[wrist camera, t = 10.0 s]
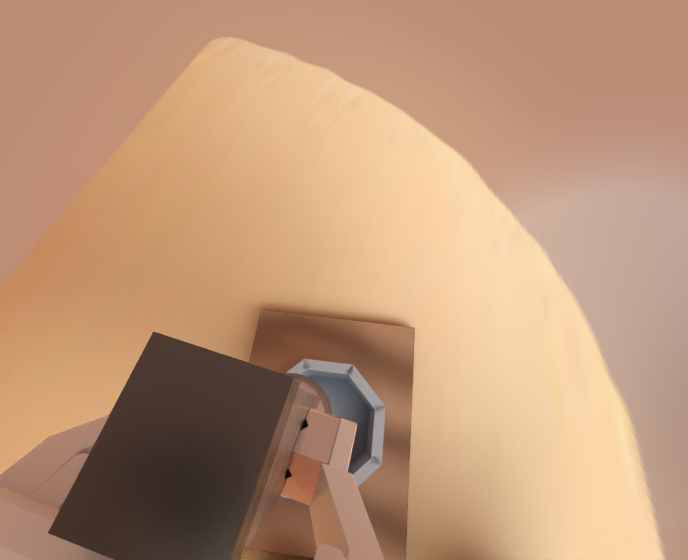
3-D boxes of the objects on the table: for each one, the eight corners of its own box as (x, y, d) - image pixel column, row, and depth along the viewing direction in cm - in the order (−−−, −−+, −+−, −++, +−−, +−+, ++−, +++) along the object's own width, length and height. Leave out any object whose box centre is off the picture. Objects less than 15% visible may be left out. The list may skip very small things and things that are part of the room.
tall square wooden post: (342, 390, 17) (354, 355, 5) (318, 473, 16) (257, 689, 4) (272, 367, 18) (128, 284, 6) (242, 446, 16) (-37, 565, 4)
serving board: (401, 563, 28) (405, 571, 26) (216, 536, 28) (209, 543, 27) (411, 331, 35) (414, 327, 34) (264, 313, 36) (261, 309, 34)
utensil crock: (371, 491, 28) (378, 510, 23) (261, 475, 29) (242, 491, 23) (379, 376, 32) (388, 368, 26) (282, 363, 32) (270, 354, 27)
